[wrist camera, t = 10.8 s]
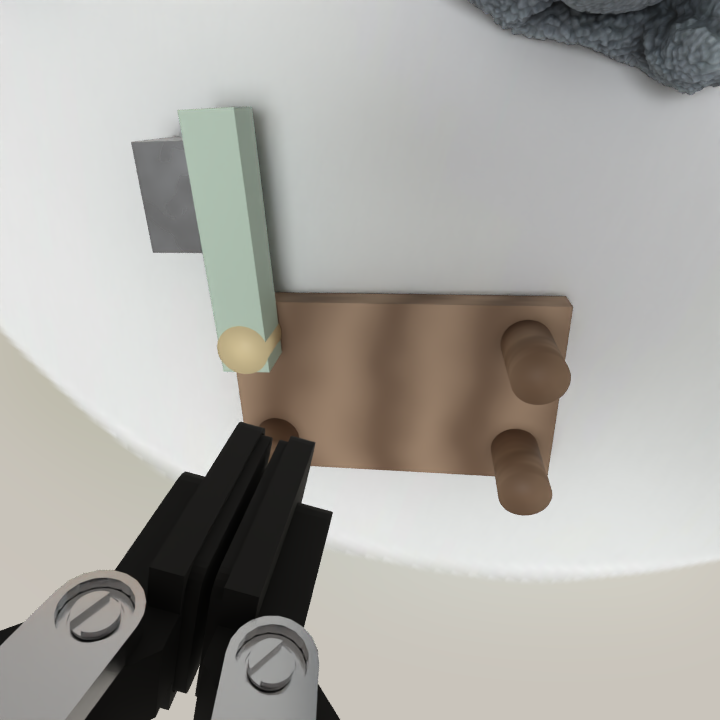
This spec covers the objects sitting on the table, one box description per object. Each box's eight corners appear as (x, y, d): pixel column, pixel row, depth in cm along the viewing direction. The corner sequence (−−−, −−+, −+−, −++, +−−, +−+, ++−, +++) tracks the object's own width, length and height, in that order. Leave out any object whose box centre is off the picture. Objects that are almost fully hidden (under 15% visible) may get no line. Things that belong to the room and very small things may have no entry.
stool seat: (565, 296, 34) (595, 339, 28) (541, 462, 40) (561, 529, 33) (236, 291, 37) (195, 330, 31) (257, 447, 43) (226, 506, 36)
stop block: (218, 135, 33) (184, 140, 28) (231, 233, 35) (201, 252, 31) (172, 136, 33) (131, 142, 29) (188, 234, 36) (153, 252, 31)
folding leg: (283, 353, 36) (270, 374, 33) (238, 352, 36) (221, 373, 34) (254, 106, 30) (234, 106, 27) (199, 109, 30) (174, 110, 27)
